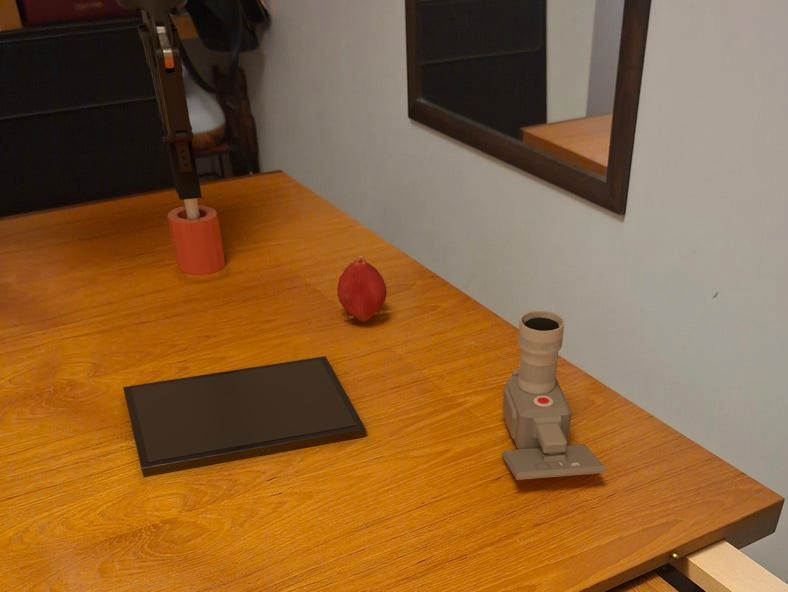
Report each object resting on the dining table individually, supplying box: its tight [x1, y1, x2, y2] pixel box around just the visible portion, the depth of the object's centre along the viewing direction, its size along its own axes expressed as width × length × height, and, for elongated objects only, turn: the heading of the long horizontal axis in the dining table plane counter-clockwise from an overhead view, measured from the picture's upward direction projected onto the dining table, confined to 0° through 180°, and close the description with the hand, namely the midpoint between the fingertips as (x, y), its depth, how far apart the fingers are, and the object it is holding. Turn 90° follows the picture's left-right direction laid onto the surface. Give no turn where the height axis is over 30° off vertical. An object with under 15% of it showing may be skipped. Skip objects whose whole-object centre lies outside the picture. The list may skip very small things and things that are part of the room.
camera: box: [501, 310, 607, 481], centre depth 87 cm, size 9×12×15 cm
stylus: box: [183, 198, 200, 220], centre depth 113 cm, size 2×2×16 cm
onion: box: [336, 255, 388, 323], centre depth 107 cm, size 6×6×8 cm
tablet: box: [122, 355, 367, 478], centre depth 93 cm, size 16×22×1 cm
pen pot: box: [167, 205, 226, 276], centre depth 116 cm, size 6×6×7 cm
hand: (188, 194), depth 112 cm, fingers closed on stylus, 2 cm apart
